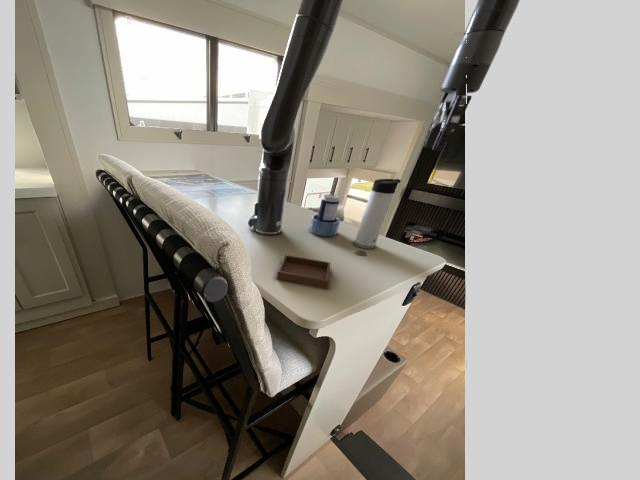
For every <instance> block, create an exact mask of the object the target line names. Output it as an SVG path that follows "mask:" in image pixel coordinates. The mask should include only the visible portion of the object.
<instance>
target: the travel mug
mask: <svg viewBox="0 0 640 480" xmlns="http://www.w3.org/2000/svg"><path fill="white" fill-rule="evenodd" d="M401 181H402V180H401V179H399V178H379V179H375V180H374V182H373V183H372V184H373V185H372V187H371V190H370V193H369V195H368V196H369V197H368V199H367V202H366V205H365V207H364V208H365V209H364V211H363V214H362V217H361V221H360V223H359V226H358V229H357V234H356V236H355V239H354V242H353V243H354V245H355V246H357V247H358V248H362V249H367V250H368V249H369V250H371V249H373V248H375V247H376V244H377V241H378V238H379V236H380V234H381V231H382V228H383V226H384V223H385V220H386V217H387V215H388V213H389V209H390V208H391V205H392V202H393V200H394V197H395V195H396V194H395V193H396V190H397V188H398V185H399V184H400V183H401Z"/></svg>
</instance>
